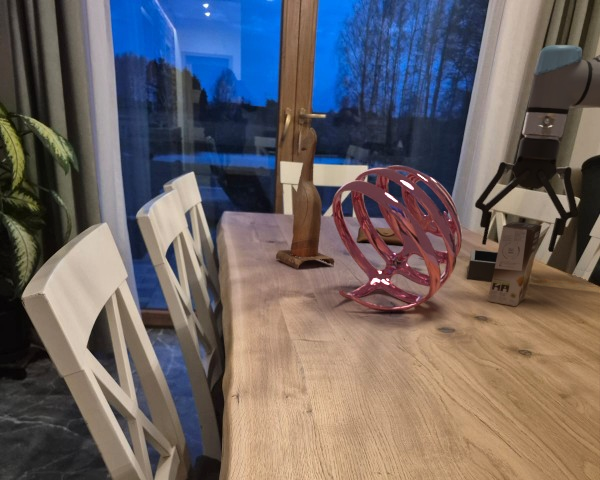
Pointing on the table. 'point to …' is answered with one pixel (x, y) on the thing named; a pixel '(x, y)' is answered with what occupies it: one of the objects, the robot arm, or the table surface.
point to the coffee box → (514, 263)
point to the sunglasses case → (384, 233)
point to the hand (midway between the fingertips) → (516, 247)
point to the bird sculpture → (306, 213)
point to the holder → (482, 265)
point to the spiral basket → (401, 234)
